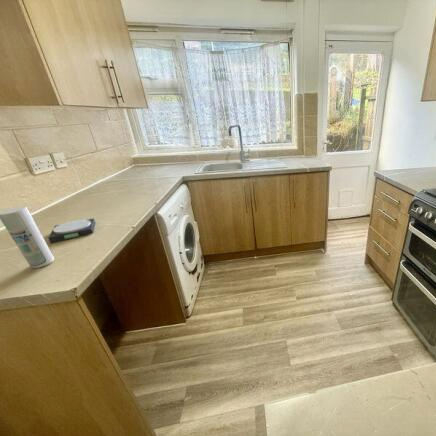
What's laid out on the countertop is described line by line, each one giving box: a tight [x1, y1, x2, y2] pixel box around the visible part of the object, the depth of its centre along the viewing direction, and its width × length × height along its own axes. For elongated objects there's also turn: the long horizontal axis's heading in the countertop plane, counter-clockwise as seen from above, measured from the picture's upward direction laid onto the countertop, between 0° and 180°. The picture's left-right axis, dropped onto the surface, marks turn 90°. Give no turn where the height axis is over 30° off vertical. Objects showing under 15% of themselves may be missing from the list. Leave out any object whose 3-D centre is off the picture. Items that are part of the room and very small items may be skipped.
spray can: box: [0, 206, 55, 269], centre depth 81 cm, size 6×6×20 cm
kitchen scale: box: [47, 218, 96, 244], centre depth 106 cm, size 14×14×3 cm
